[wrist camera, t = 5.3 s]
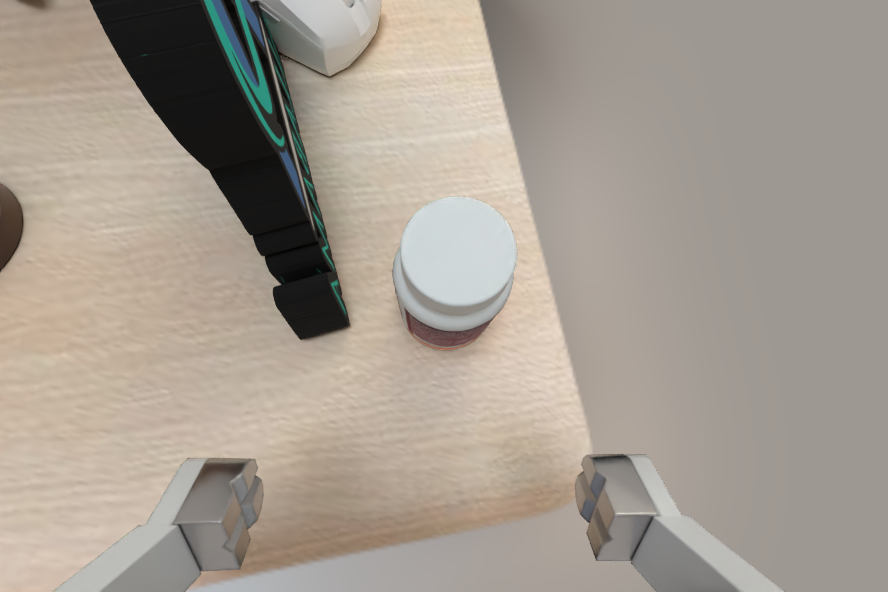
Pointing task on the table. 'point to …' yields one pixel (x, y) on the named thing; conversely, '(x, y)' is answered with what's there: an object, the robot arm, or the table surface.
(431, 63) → the table surface
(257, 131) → the decorative sign
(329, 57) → the computer mouse
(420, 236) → the pill bottle
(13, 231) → the coaster
